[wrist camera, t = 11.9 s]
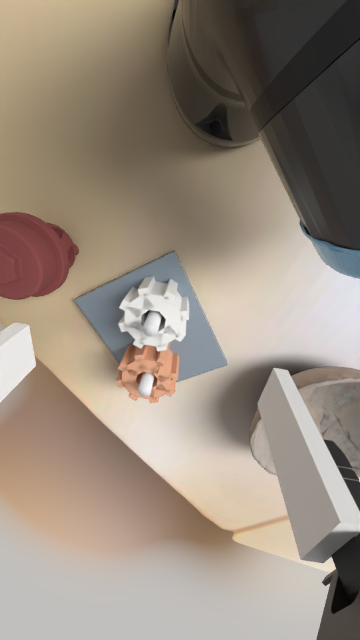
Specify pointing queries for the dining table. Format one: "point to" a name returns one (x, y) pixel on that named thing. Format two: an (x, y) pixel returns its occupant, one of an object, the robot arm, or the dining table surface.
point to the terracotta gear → (149, 370)
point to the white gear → (155, 299)
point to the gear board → (196, 326)
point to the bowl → (321, 413)
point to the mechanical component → (32, 256)
